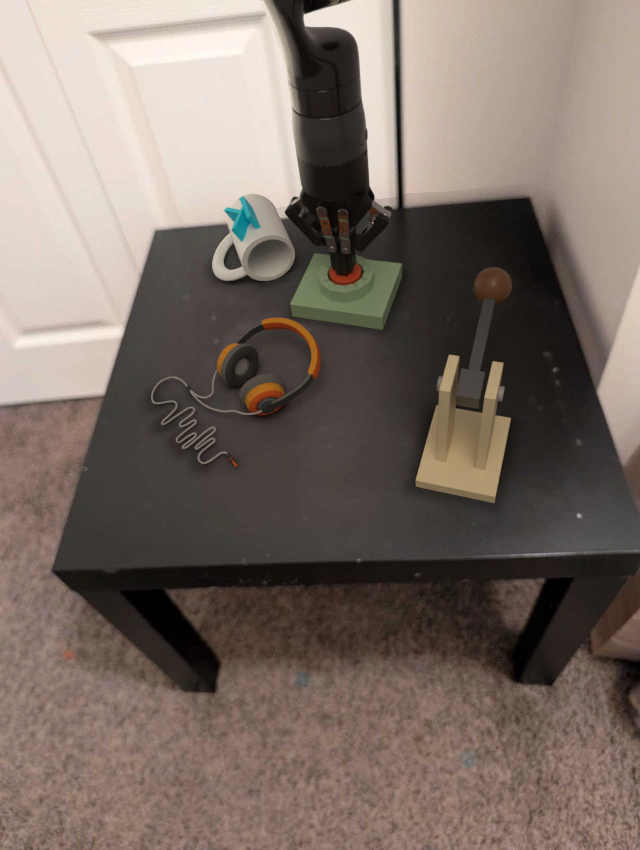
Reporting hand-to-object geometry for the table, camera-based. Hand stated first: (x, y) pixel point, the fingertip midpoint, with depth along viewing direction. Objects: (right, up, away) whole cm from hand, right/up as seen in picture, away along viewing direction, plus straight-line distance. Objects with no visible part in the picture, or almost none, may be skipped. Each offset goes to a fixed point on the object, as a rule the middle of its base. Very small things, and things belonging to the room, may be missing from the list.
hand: (344, 271), depth 84 cm
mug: (-13, +4, +11) cm, 17 cm away
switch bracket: (+12, -22, -13) cm, 29 cm away
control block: (+1, -3, +3) cm, 4 cm away
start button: (0, -1, +1) cm, 2 cm away
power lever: (+13, -11, -19) cm, 25 cm away
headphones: (-12, -16, -5) cm, 21 cm away
